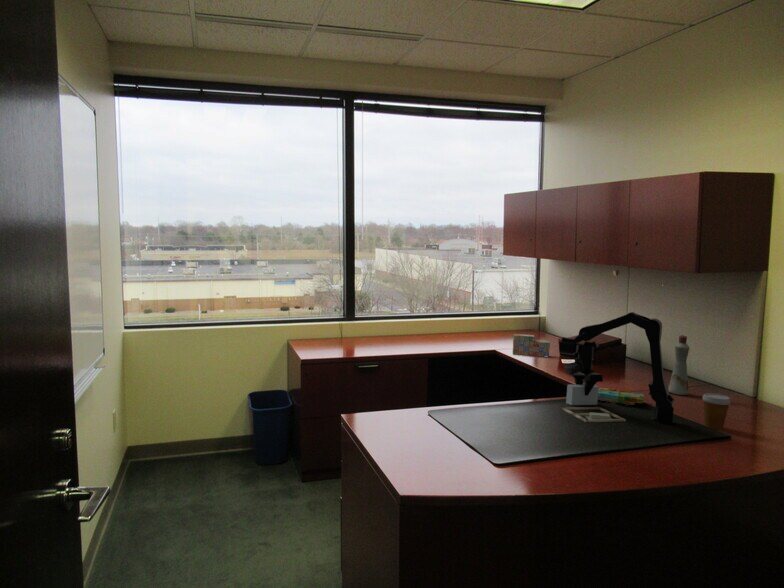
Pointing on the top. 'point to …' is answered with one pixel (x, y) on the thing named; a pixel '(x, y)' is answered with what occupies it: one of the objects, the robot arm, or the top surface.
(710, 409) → the disposable coffee cup
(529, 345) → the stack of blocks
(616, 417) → the frame
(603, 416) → the offcut upper
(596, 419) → the offcut lower
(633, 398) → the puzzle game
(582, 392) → the light grey block
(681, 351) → the bottle
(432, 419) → the top surface
